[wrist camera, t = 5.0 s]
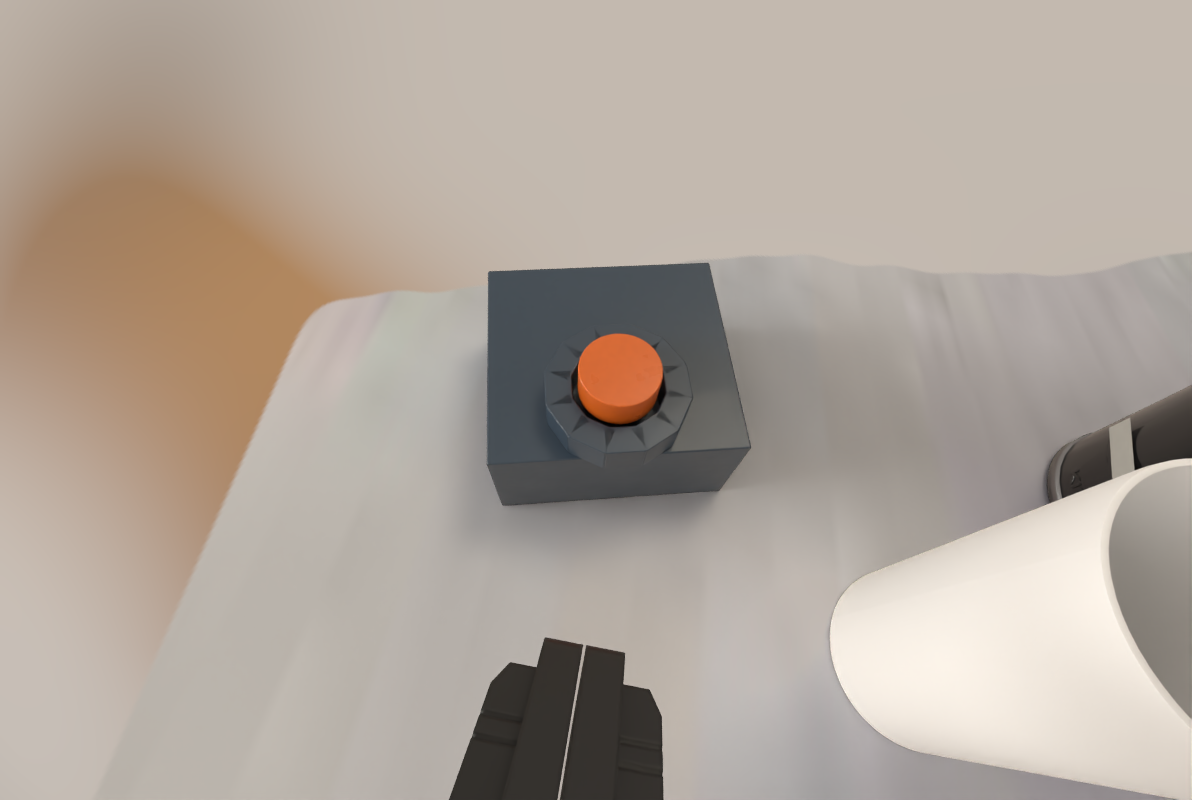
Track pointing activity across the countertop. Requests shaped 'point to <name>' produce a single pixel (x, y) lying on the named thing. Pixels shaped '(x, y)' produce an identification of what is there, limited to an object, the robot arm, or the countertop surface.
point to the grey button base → (550, 385)
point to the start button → (619, 378)
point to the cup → (1040, 640)
